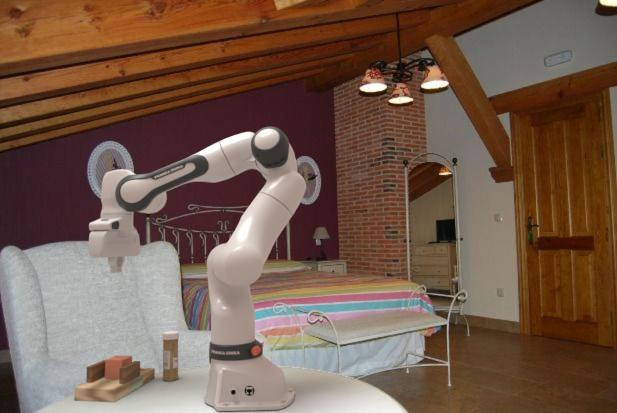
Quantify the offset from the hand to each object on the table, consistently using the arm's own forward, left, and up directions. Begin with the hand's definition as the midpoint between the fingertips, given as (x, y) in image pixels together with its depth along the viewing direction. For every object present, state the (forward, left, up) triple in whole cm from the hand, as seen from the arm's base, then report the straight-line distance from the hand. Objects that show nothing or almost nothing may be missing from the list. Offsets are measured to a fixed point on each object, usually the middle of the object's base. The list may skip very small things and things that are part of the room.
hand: (116, 272), depth 132 cm
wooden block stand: (-4, +4, -31) cm, 32 cm away
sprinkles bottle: (-14, -6, -31) cm, 35 cm away
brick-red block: (-3, +3, -28) cm, 28 cm away
